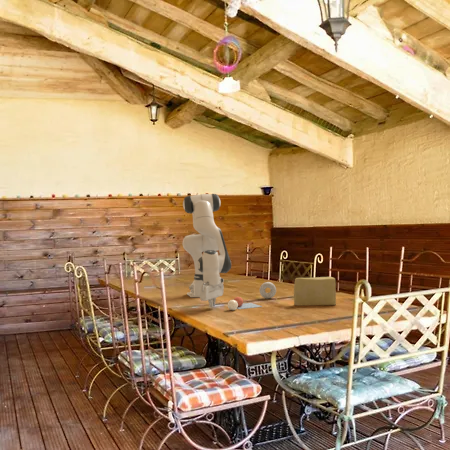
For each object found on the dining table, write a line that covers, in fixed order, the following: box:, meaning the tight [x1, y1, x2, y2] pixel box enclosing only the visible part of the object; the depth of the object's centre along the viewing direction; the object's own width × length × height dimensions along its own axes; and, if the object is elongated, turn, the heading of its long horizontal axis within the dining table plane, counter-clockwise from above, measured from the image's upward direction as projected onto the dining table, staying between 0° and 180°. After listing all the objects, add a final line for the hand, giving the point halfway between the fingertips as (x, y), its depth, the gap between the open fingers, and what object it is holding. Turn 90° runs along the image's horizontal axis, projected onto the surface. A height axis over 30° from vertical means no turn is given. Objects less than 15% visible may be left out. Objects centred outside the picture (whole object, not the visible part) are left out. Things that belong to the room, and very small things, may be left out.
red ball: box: [233, 296, 244, 307], centre depth 280 cm, size 6×6×6 cm
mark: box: [236, 302, 263, 310], centre depth 281 cm, size 14×14×1 cm
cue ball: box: [227, 299, 238, 311], centre depth 270 cm, size 6×6×6 cm
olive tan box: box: [293, 276, 337, 306], centre depth 280 cm, size 22×10×15 cm, turn 92°
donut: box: [259, 281, 277, 299], centre depth 306 cm, size 10×4×10 cm, turn 90°
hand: (212, 306), depth 273 cm, fingers closed
